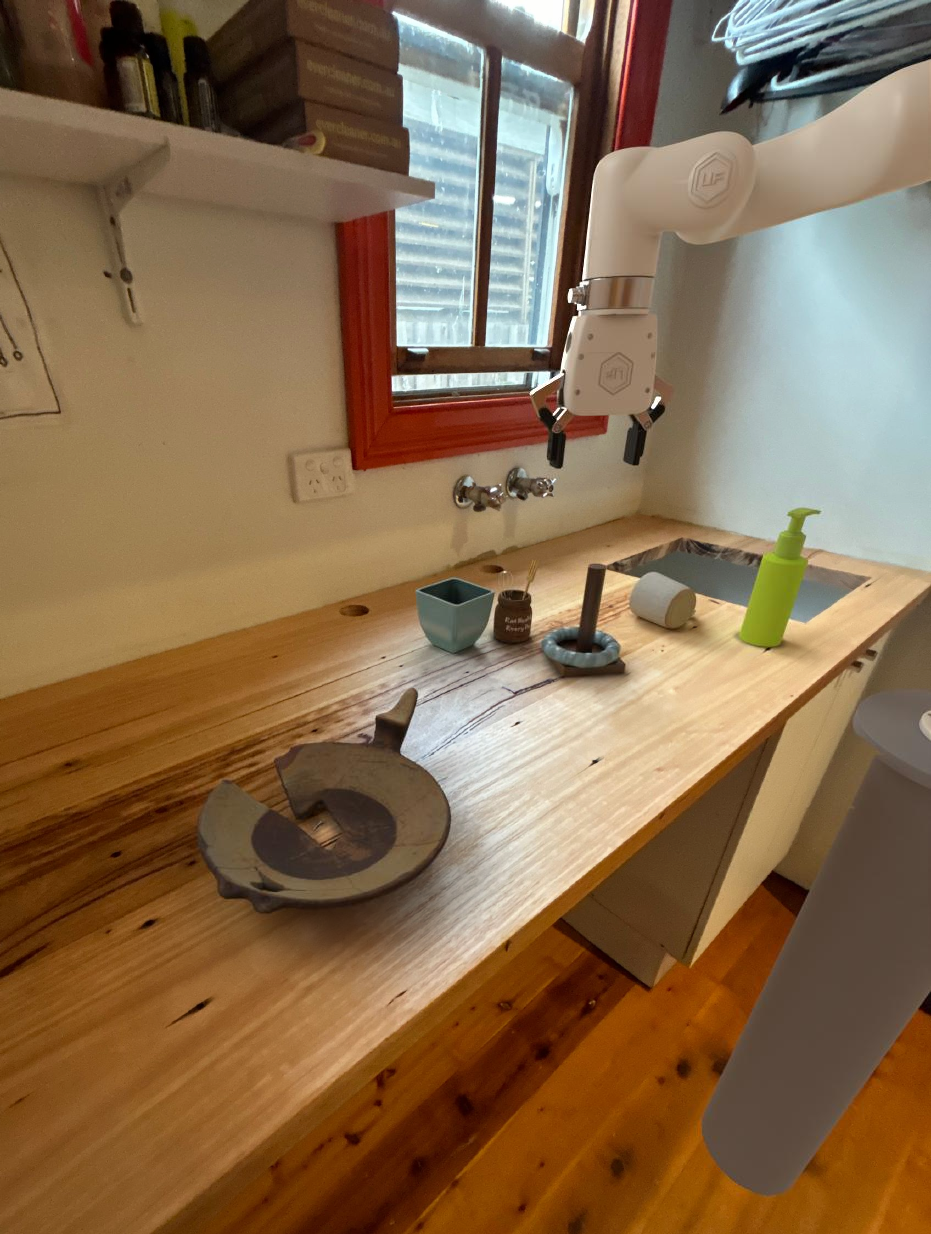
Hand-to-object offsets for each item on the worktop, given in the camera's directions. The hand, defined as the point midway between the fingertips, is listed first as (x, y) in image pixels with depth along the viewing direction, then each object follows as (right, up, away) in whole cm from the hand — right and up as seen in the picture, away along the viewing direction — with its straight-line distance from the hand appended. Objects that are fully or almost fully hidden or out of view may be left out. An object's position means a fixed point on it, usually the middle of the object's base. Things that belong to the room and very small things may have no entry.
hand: (593, 465), depth 75 cm
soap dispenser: (+33, -19, +21) cm, 44 cm away
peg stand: (+3, -23, +15) cm, 28 cm away
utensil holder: (-6, -19, +23) cm, 30 cm away
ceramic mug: (+20, -16, +28) cm, 38 cm away
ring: (+2, -21, +13) cm, 25 cm away
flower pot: (-16, -21, +20) cm, 33 cm away
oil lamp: (-28, -42, -16) cm, 53 cm away
